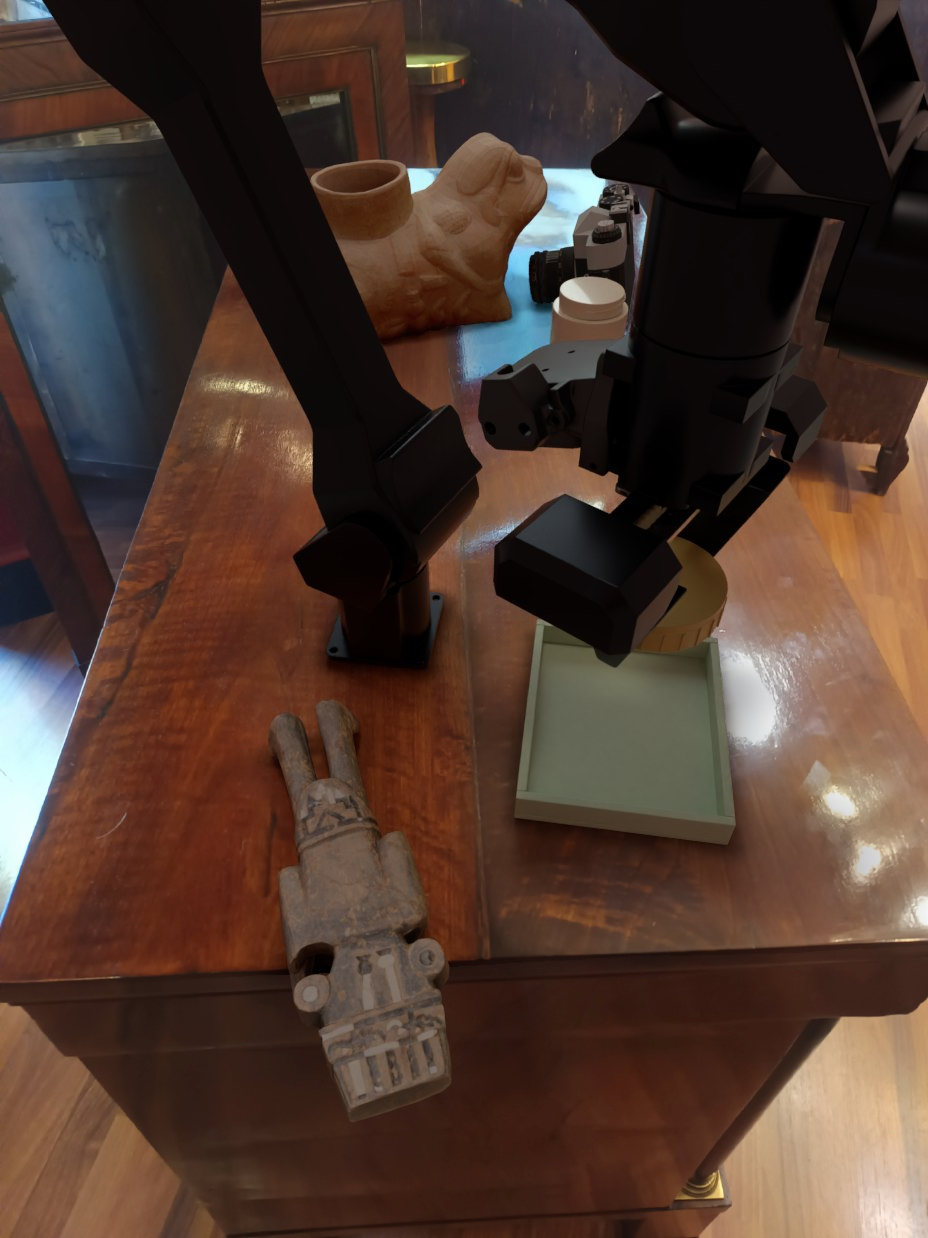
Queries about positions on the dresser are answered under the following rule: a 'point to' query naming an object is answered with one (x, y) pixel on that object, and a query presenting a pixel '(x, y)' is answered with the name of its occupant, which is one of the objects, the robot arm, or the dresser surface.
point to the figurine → (358, 929)
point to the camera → (592, 249)
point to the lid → (691, 602)
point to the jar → (589, 310)
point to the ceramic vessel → (433, 234)
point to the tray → (626, 741)
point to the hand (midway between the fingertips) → (643, 621)
